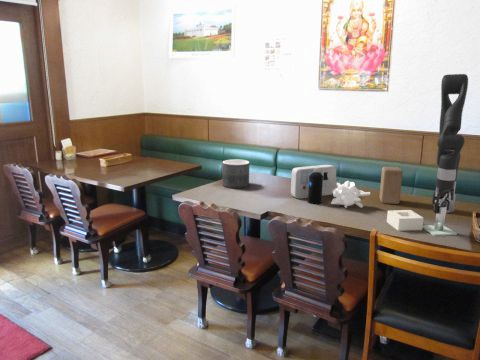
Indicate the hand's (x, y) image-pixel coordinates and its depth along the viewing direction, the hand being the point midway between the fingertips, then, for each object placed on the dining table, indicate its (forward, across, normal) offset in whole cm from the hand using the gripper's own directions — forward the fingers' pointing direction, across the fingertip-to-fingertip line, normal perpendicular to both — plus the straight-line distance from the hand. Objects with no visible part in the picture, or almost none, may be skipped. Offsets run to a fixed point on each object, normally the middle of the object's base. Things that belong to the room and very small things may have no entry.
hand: (441, 211), depth 188 cm
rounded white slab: (+10, -6, +76) cm, 77 cm away
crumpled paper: (+10, -6, +50) cm, 52 cm away
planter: (+10, -31, +123) cm, 127 cm away
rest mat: (+10, 0, 0) cm, 10 cm away
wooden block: (+10, +22, +42) cm, 48 cm away
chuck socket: (+10, -8, +13) cm, 18 cm away
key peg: (+9, 0, 0) cm, 9 cm away
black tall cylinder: (+10, -15, +66) cm, 68 cm away
